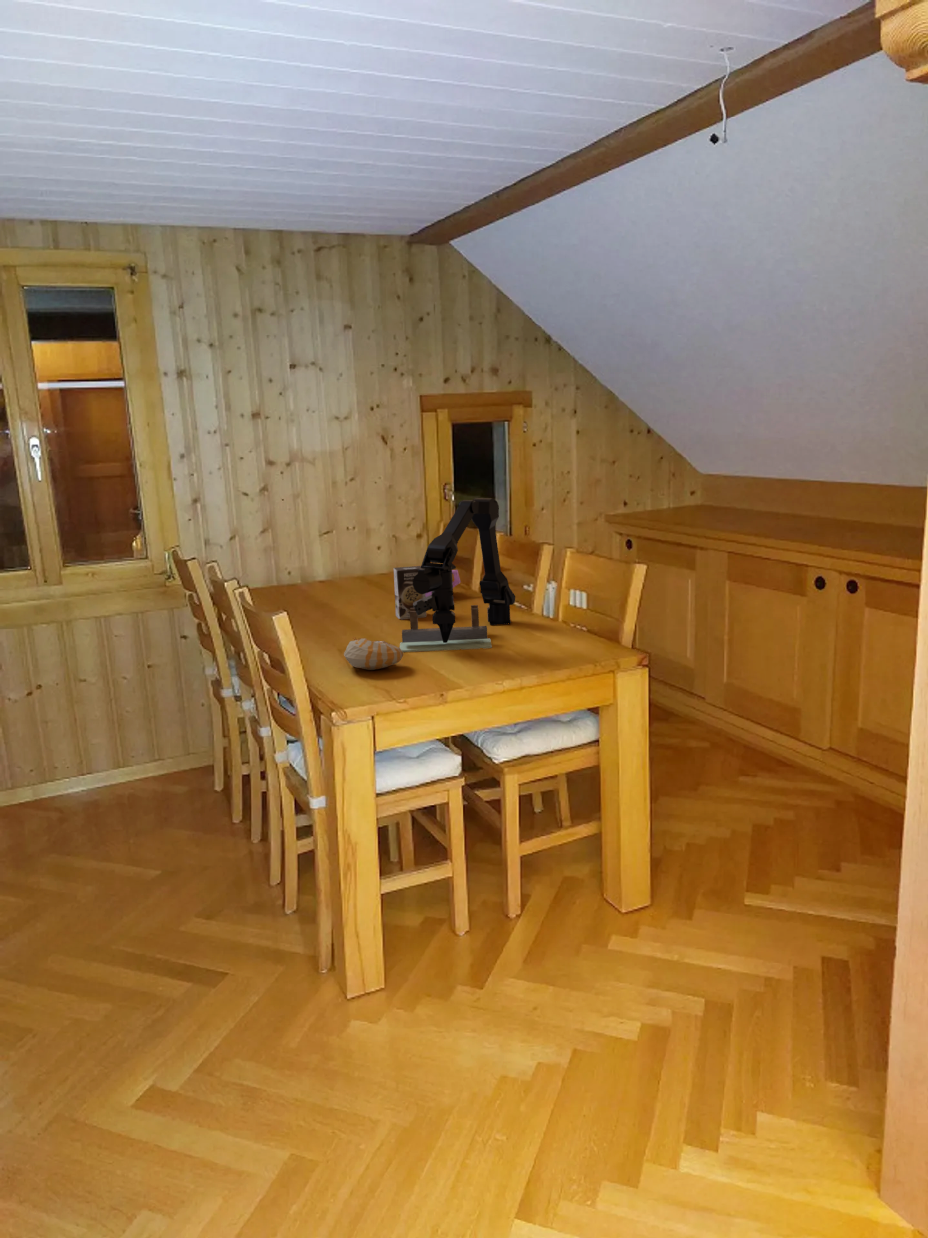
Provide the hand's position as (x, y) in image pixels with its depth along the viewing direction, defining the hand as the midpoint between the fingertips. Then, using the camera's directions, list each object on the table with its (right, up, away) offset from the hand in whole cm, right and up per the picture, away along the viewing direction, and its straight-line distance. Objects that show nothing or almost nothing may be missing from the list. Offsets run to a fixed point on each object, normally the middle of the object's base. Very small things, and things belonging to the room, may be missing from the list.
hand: (445, 641), depth 265 cm
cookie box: (-12, +7, +38) cm, 41 cm away
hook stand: (0, +1, +11) cm, 11 cm away
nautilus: (-19, -6, -16) cm, 26 cm away
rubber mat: (0, -1, 0) cm, 2 cm away
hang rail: (0, 0, 0) cm, 1 cm away
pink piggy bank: (-4, +14, +66) cm, 67 cm away
